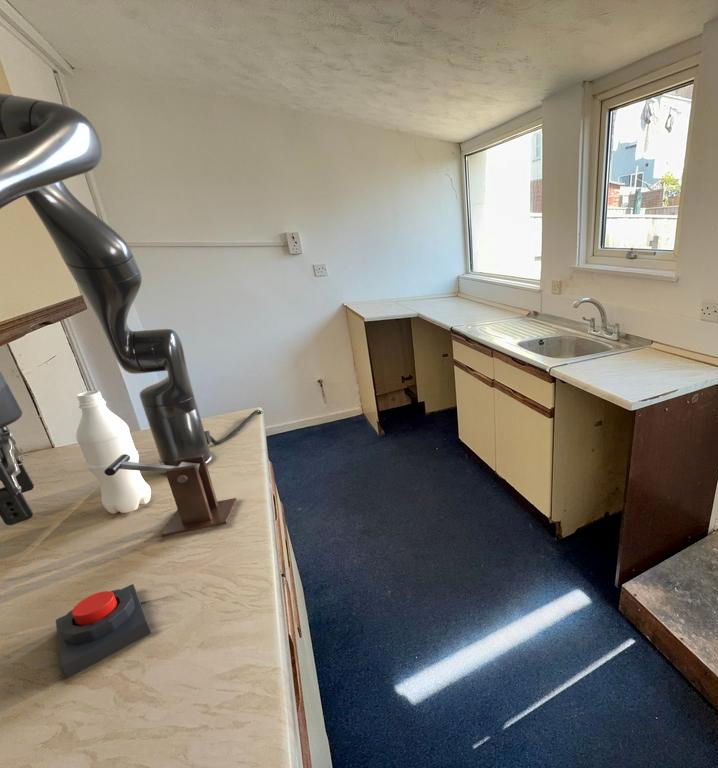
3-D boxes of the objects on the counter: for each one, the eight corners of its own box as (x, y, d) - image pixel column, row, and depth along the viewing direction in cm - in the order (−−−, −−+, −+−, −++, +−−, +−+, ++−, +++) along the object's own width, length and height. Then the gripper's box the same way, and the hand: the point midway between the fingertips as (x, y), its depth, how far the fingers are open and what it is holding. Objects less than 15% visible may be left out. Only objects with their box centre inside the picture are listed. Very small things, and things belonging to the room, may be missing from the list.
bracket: (162, 539, 72) (141, 479, 68) (179, 513, 79) (161, 457, 75) (227, 526, 76) (210, 468, 71) (237, 502, 83) (223, 448, 78)
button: (74, 614, 53) (70, 604, 53) (115, 595, 56) (111, 586, 56) (77, 631, 51) (72, 621, 50) (119, 611, 54) (115, 601, 53)
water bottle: (125, 520, 77) (79, 402, 69) (97, 515, 78) (48, 398, 70) (163, 498, 84) (125, 388, 75) (136, 494, 85) (96, 385, 77)
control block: (61, 631, 55) (50, 609, 54) (137, 594, 61) (129, 574, 59) (67, 679, 49) (55, 656, 48) (151, 633, 55) (142, 611, 53)
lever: (103, 477, 67) (105, 465, 67) (119, 463, 72) (120, 451, 71) (191, 484, 72) (193, 473, 72) (200, 470, 77) (202, 459, 76)
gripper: (2, 397, 43) (66, 515, 49) (8, 367, 52) (62, 471, 58) (-120, 421, 38) (-31, 550, 44) (-89, 384, 47) (-19, 495, 53)
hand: (22, 505), depth 51 cm, fingers open, 8 cm apart
